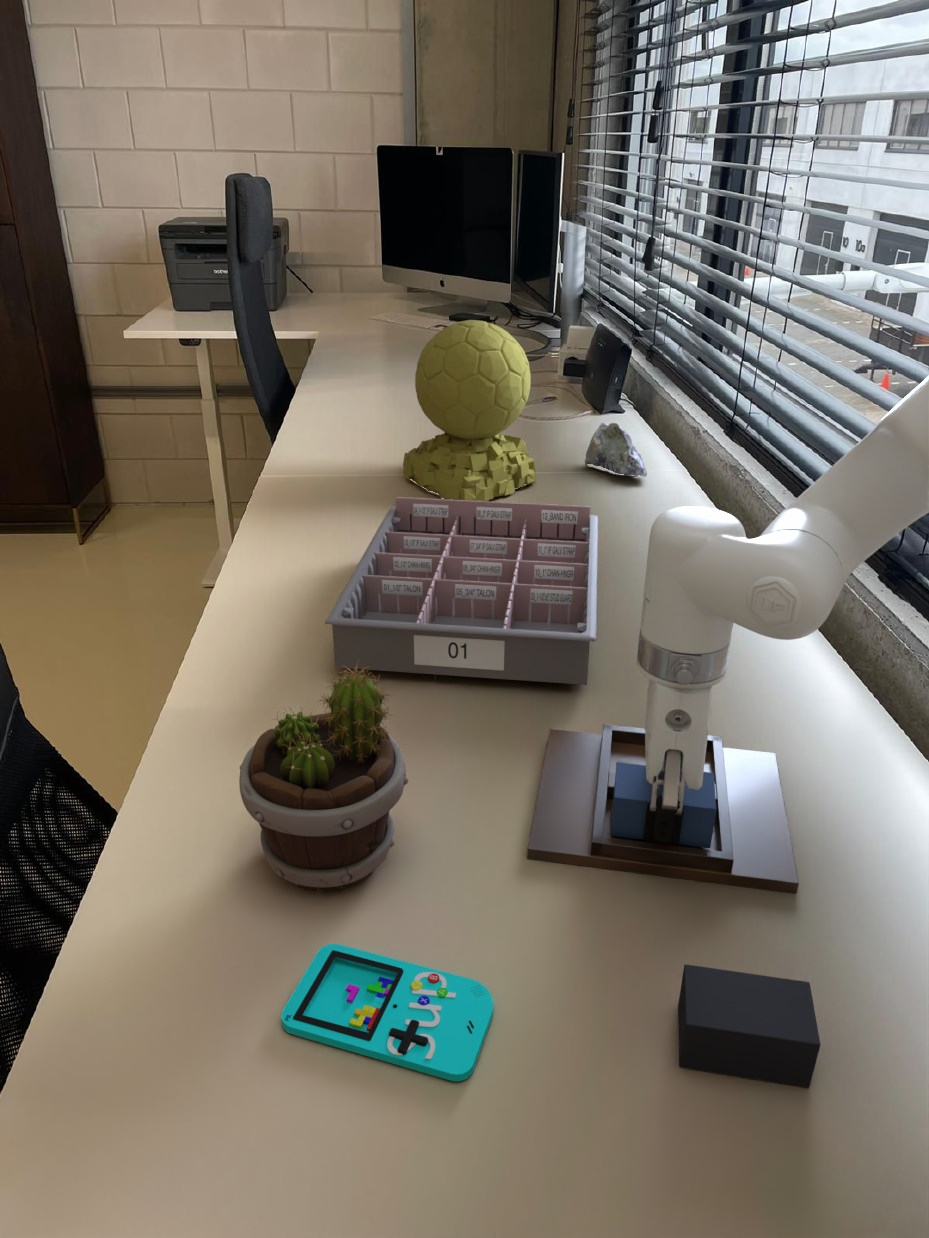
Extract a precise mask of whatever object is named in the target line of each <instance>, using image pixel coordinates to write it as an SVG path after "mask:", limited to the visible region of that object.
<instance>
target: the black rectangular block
mask: <svg viewBox="0 0 929 1238" xmlns="http://www.w3.org/2000/svg"><path fill="white" fill-rule="evenodd" d="M677 1025H678V1028H677V1029H678V1066H679V1068H681V1069H682V1068H683V1069H688V1070H689V1069H690V1070H694V1071H701V1072H708V1073H712V1074H713V1073H714V1074H719V1075H727V1076H731V1077H737V1078H738V1077H739V1078H744V1079H750V1080H757V1081H763V1082H769V1083H776V1084H782V1085H786V1086H787V1085H788V1086H795V1087H800V1088H807V1089H810V1087H811V1083H812V1079H813V1075H814V1071H815V1067H816V1063H817V1059H818V1056H819V1053H820V1048H821V1041H820V1035H819V1028H818V1022H817V1017H816V1011H815V1005H814V1000H813V993H812V989H811V983H810V982H809V981H804V980H797V979H790V978H785V977H783V978H782V977H776V976H770V975H762V974H755V973H749V972H742V971H736V970H735V971H734V970H728V969H723V968H716V967H715V968H714V967H707V966H700V965H695V964H694V965H693V964H687V963H685V964H684V965H683V972H682V979H681V984H680V990H679V998H678V1004H677Z"/></svg>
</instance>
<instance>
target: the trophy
mask: <svg viewBox="0 0 929 1238" xmlns="http://www.w3.org/2000/svg"><path fill="white" fill-rule="evenodd" d="M530 369H531V368H530V362H529V359H528V357H527V354H526V352H525V350H524V349H523V347H522V346H521V345H520V343H519V342H518V341H517V340H516V338H514V337H513V336H512V335H511V334H510V333H509V332H508V331H507V330H505V329H504V328H503V327H500V326H498V325H496V324H494V323H491V322H487V321H486V320H485V321H484V320H479V319H478V320H477V319H467V320H461V321H457V322H454V323H452V324H450V325H447V326H446V327H445V328H443V329H441V330H439V331H437V333H436V334H435V335H434V336H432V338H430V339H429V341H427V343H426V344H425V346H424V347H423V349H422V350H421V353H420V355H419V358H418V361H417V364H416V370H415V374H414V375H415V376H414V377H415V378H414V380H415V381H414V385H415V386H414V388H415V394H416V398H417V401H418V405H419V406H420V408H421V411H422V412H423V414H424V415H425V417H426V418H427V419H428V420H430V422H431V423H432V424H433V425H434V426H435V427H436V428H437V429H439V430H441V431H442V432H443V433H441V434H436V435H435V436H434V437H433V438H431V439H426V440H422V441H421V442H420V444H419V445H418V447H414V448H412V449H410V450H409V451H408V452H404V455H403V462H402V466H403V470H402V476H403V477H404V478H406V479H407V480H409V479H412V480H413V481H415V482H416V483H417V484H418V485H420V486H422V487H424V488H426V489H427V490H428V491H433V492H435V493H438V494H439V496H438V498H439V497H440V498H444V499H448V500H451V499H452V500H469V501H491V500H493V498H497V497H500V496H508V495H511V494H514V493H516V492H515V491H516V490H514V488H520V487H522V488H524V487H523V486H524V484H528V483H529V484H534V483H533V482H536V483H537V473H536V471H537V470H536V465H535V460H534V458H533V456H531V457H530V455H529V453H528V449H527V444H526V442H525V441H524V440H523V439H522V437H517V436H511V435H506V434H504V435H502V434H501V433H502V432H503V431H505V430H507V429H508V428H510V426H512V425H513V423H515V422H516V421H517V420H518V418H519V417H520V416H521V414H523V413H522V412H523V411H524V409H525V407H526V405H527V402H528V400H529V397H530V391H531V370H530ZM529 484H528V485H529ZM418 485H417V486H418ZM520 489H521V488H520ZM440 498H439V499H440ZM490 499H491V500H490Z"/></svg>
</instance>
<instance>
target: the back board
mask: <svg viewBox="0 0 929 1238" xmlns="http://www.w3.org/2000/svg"><path fill="white" fill-rule="evenodd" d="M601 733H602V734H600V733H591V732H583V731H572V730H564V729H554V728H549V732H548V739H547V744H546V749H545V754H544V759H543V763H542V764H543V765H542V770H541V775H540V780H539V785H538V790H537V795H536V800H535V801H536V802H535V806H534V813H533V818H532V823H531V827H530V832H529V838H528V843H527V849H526V859H528V860H536V861H542V862H544V861H545V862H551V863H558V864H566V865H573V866H575V865H576V866H581V867H582V866H583V867H589V868H597V869H599V868H600V869H605V870H612V871H621V872H628V873H636V874H642V875H643V874H644V875H649V876H650V875H651V876H658V877H666V878H674V879H683V880H689V881H697V882H706V883H713V884H721V885H728V886H736V887H744V888H750V889H751V888H752V889H759V890H766V891H774V892H782V893H790V894H797V893H798V890H799V885H800V881H799V876H798V871H797V865H796V859H795V854H794V849H793V843H792V838H791V832H790V826H789V821H788V814H787V810H786V805H785V800H784V793H783V788H782V783H781V782H782V781H781V777H780V771H779V766H778V761H777V754H776V752H769V751H760V750H750V749H740V748H731V747H724V746H723V745H724V744H723V737H722V736H719V735H709V734H708V739H707V747H706V755H705V764H704V772H709V773H713V774H714V785H715V797H716V816H715V822H714V828H713V834H712V840H711V846H710V848H702V847H694V846H687V845H677V846H674V845H666V844H658V843H650V842H645V841H644V840H639V839H631V838H623V837H615V836H611V835H610V834H611V821H612V807H613V795H614V785H615V775H616V765H617V762H621V763H630V764H638V765H646V758H645V728H644V727H632V726H623V725H615V724H614V725H613V724H605V723H603V725H602V732H601Z"/></svg>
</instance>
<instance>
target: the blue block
mask: <svg viewBox="0 0 929 1238" xmlns="http://www.w3.org/2000/svg"><path fill="white" fill-rule="evenodd" d="M658 775H661V776H664V771H661V772H660V773H659V774H658ZM680 776H681V773H680ZM680 776H679V778H680ZM651 792H652V785H651V784H650V783H649V782H648V781H647V779H646V765H638V764H630V763H621V762H617V765H616V775H615V785H614V795H613V807H612V821H611V834H610V835H611V836H615V837H623V838H631V839H639V840H643V835H644V826H645V818H646V810H647V804H650V802H651ZM662 794H663V786H659V788H658V797H659V795H660V796H662ZM682 808H684V813H683V820H682V827H681V834H680V841H679V845H687V846H694V847H702V848H710V846H711V840H712V834H713V828H714V822H715V816H716V797H715V785H714V774H713V773H709V772H704V773H703V783H702V787H701V788H700V789H698V790H695V789H688V786H687V784H686V781H685V788H684V797H683V807H682Z"/></svg>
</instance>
